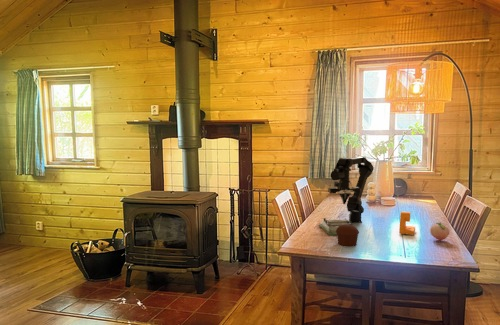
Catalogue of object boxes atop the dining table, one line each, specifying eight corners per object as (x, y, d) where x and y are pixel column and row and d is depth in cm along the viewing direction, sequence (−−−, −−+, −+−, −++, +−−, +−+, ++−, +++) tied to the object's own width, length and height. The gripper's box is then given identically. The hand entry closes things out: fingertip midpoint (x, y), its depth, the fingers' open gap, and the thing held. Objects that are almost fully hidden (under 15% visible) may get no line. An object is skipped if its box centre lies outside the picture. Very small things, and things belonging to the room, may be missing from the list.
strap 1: (328, 226, 211) (328, 224, 211) (326, 224, 214) (326, 222, 214) (350, 225, 212) (350, 223, 212) (348, 224, 215) (348, 222, 215)
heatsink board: (344, 224, 230) (344, 215, 229) (357, 235, 207) (357, 225, 207) (319, 225, 229) (319, 216, 228) (329, 235, 206) (329, 225, 206)
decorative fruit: (426, 238, 199) (427, 220, 198) (441, 238, 200) (441, 219, 199) (436, 243, 190) (437, 224, 189) (451, 243, 191) (452, 224, 190)
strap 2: (346, 220, 224) (346, 218, 224) (347, 221, 221) (347, 219, 221) (325, 221, 223) (325, 219, 223) (326, 222, 220) (326, 220, 220)
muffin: (355, 240, 197) (355, 222, 196) (362, 247, 186) (362, 227, 185) (332, 241, 196) (333, 222, 196) (338, 247, 185) (338, 228, 184)
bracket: (413, 236, 204) (414, 214, 203) (399, 234, 207) (399, 213, 206) (415, 231, 213) (415, 210, 212) (401, 229, 217) (402, 209, 216)
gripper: (355, 176, 234) (354, 201, 236) (325, 177, 233) (325, 202, 235) (361, 179, 223) (361, 204, 225) (330, 179, 222) (330, 205, 224)
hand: (344, 204), depth 227 cm, fingers closed
